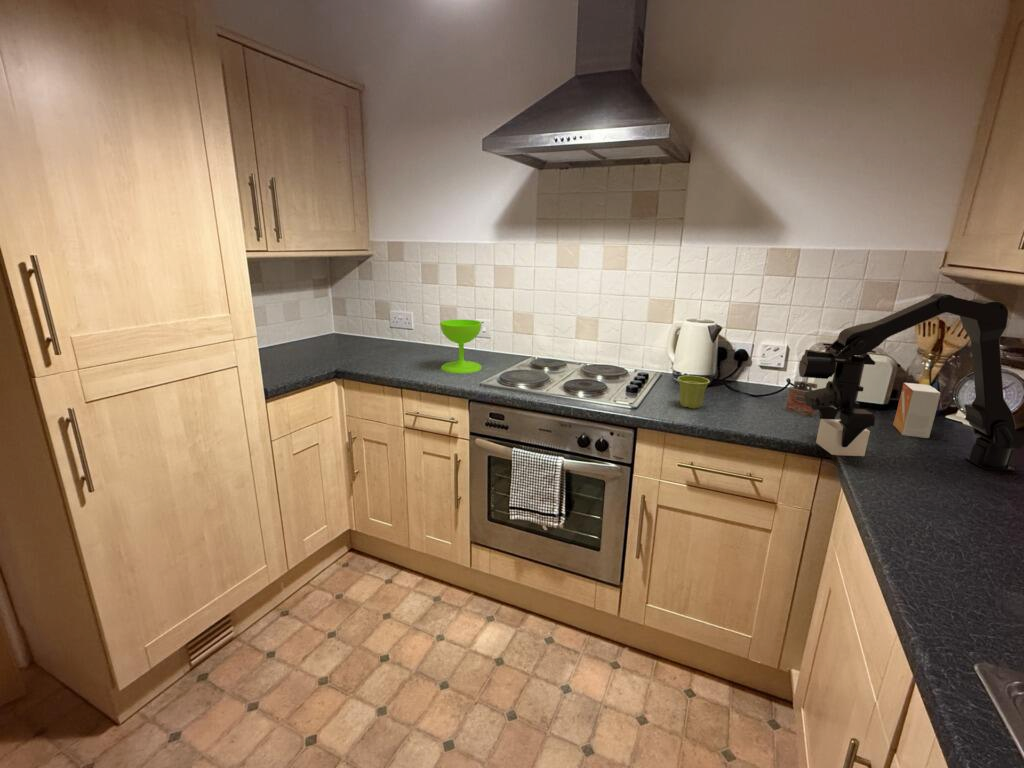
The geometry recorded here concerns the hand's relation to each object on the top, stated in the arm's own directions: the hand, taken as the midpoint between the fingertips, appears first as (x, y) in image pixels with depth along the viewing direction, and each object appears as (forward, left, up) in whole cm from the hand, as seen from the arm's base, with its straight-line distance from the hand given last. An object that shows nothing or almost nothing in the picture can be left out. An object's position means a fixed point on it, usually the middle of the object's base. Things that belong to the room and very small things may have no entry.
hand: (833, 439), depth 127 cm
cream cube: (-2, 0, -2) cm, 3 cm away
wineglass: (+106, -68, -3) cm, 126 cm away
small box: (-29, -15, -3) cm, 33 cm away
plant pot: (+27, -31, -3) cm, 41 cm away
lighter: (-5, -28, -3) cm, 29 cm away
